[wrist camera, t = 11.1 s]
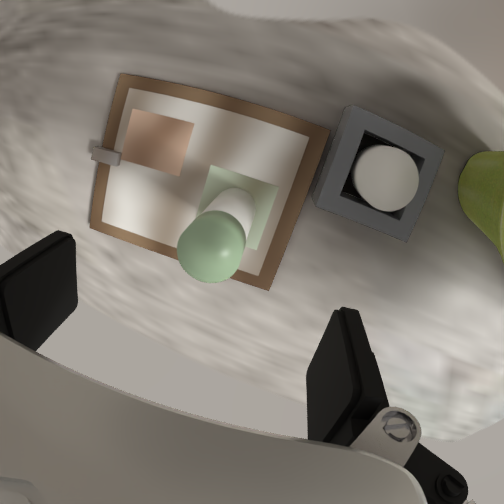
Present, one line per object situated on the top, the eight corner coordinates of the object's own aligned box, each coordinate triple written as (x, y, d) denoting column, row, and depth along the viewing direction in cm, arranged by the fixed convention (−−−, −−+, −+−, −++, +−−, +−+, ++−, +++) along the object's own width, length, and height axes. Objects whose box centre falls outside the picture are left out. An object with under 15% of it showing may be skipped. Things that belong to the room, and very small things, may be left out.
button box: (428, 147, 20) (444, 150, 17) (394, 229, 23) (406, 242, 20) (345, 107, 20) (353, 104, 17) (311, 197, 22) (315, 206, 20)
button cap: (413, 158, 19) (427, 163, 17) (392, 210, 21) (404, 220, 18) (363, 135, 19) (372, 136, 17) (342, 189, 20) (349, 197, 18)
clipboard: (329, 130, 21) (331, 130, 19) (269, 287, 26) (268, 295, 24) (120, 73, 20) (111, 71, 19) (89, 224, 25) (81, 228, 24)
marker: (262, 195, 22) (249, 234, 14) (248, 234, 23) (230, 291, 16) (220, 181, 22) (185, 212, 14) (208, 221, 23) (171, 270, 15)
